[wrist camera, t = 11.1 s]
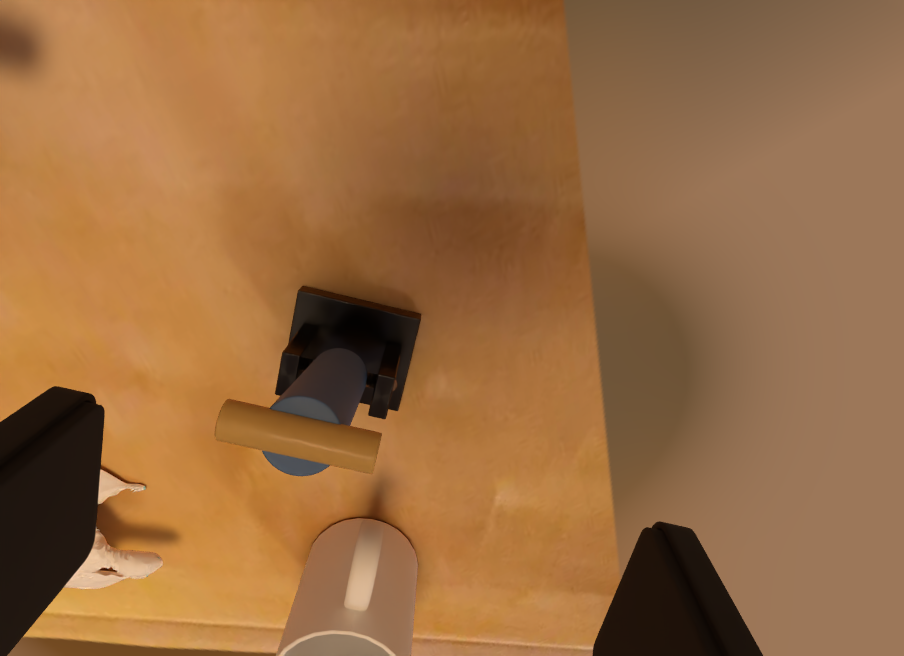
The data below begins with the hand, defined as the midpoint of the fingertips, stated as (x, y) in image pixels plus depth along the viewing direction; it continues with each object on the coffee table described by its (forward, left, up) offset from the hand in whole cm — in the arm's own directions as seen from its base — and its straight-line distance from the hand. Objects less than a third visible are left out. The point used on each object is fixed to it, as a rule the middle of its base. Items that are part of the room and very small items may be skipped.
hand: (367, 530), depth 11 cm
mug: (+22, +1, -29) cm, 36 cm away
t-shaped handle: (+5, -3, -18) cm, 19 cm away
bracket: (+8, -3, -29) cm, 30 cm away
